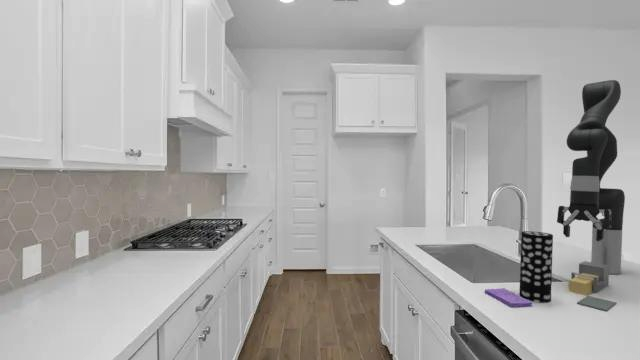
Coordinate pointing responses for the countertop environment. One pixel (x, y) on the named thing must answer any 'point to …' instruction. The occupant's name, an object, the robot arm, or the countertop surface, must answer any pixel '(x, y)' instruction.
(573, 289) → the wooden block
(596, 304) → the mat
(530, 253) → the white-spotted black cylinder
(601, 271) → the dispenser
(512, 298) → the sponges
